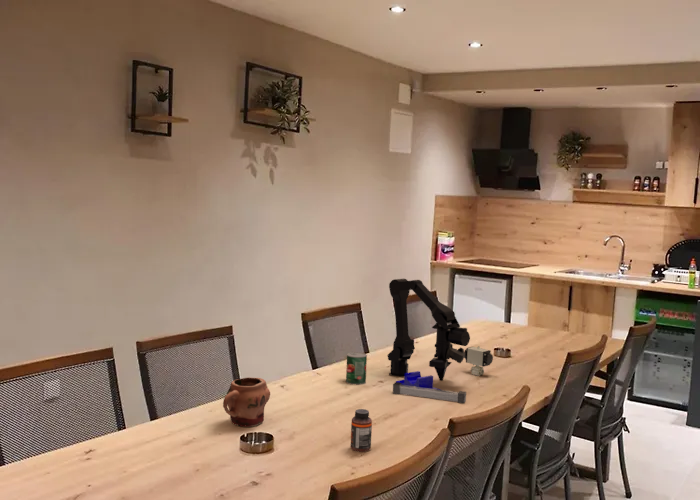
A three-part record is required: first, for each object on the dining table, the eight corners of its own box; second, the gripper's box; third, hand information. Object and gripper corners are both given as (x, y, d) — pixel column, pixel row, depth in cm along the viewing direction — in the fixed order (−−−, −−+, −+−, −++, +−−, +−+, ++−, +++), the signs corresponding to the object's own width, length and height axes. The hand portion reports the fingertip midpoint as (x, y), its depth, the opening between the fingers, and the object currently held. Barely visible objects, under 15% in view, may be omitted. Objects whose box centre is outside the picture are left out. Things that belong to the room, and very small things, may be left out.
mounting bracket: (441, 394, 262) (442, 379, 261) (427, 397, 258) (428, 381, 257) (409, 383, 276) (409, 368, 276) (395, 385, 272) (396, 370, 271)
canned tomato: (370, 382, 274) (371, 354, 273) (356, 385, 268) (357, 357, 267) (355, 378, 279) (356, 351, 278) (341, 381, 273) (342, 354, 272)
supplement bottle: (349, 445, 205) (351, 407, 204) (369, 445, 205) (371, 407, 204) (351, 452, 199) (352, 413, 198) (371, 452, 199) (373, 414, 198)
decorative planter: (242, 437, 208) (243, 391, 206) (209, 429, 213) (210, 385, 212) (278, 419, 226) (279, 377, 224) (247, 412, 231) (248, 371, 230)
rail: (392, 393, 259) (393, 384, 259) (395, 391, 262) (395, 382, 262) (464, 403, 250) (464, 393, 250) (465, 401, 253) (466, 391, 253)
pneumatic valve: (485, 378, 286) (487, 349, 285) (462, 372, 294) (463, 344, 293) (493, 376, 290) (494, 348, 289) (469, 370, 298) (471, 343, 297)
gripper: (459, 348, 259) (456, 389, 260) (468, 339, 277) (466, 377, 278) (429, 345, 263) (427, 385, 264) (441, 336, 280) (439, 374, 282)
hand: (441, 380), depth 272 cm, fingers closed
